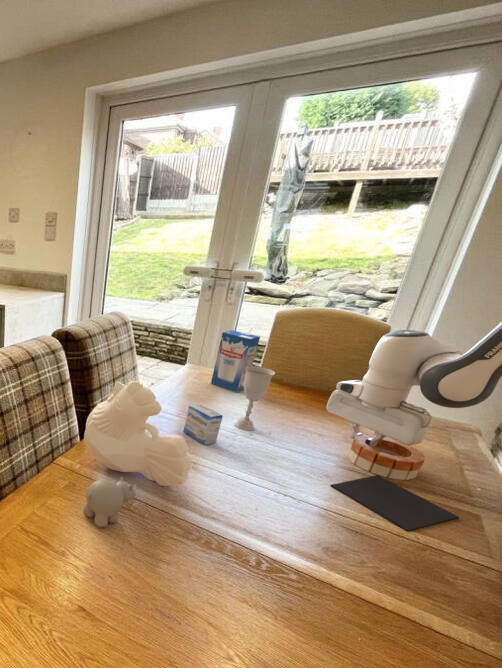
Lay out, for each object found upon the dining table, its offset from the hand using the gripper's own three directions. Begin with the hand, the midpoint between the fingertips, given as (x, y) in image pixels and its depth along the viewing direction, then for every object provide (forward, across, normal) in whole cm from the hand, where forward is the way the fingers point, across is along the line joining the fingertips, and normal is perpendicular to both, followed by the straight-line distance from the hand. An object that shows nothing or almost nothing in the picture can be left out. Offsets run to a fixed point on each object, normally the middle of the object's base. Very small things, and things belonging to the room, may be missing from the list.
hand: (362, 442), depth 103 cm
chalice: (+4, +20, +17) cm, 26 cm away
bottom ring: (+4, -5, 0) cm, 6 cm away
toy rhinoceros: (+4, -4, +76) cm, 76 cm away
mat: (+4, -16, +14) cm, 22 cm away
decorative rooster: (+4, +8, +64) cm, 65 cm away
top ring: (+1, -5, 0) cm, 5 cm away
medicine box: (+4, +18, +35) cm, 39 cm away
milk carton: (+4, +47, -3) cm, 47 cm away
